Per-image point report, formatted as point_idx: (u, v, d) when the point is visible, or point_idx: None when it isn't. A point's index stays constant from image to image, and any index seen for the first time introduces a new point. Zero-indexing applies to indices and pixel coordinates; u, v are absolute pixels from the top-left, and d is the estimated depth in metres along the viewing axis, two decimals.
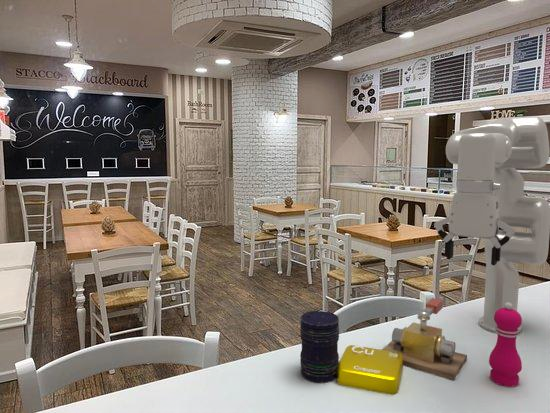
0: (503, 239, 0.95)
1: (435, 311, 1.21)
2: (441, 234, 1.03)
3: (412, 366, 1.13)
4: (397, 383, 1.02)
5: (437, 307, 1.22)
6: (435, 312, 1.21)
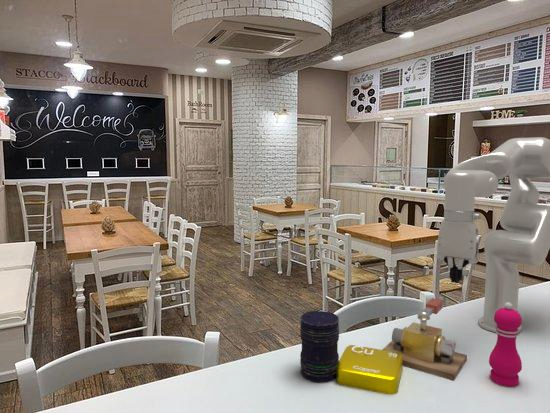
0: (464, 262, 1.18)
1: (435, 311, 1.21)
2: (446, 261, 1.20)
3: (412, 366, 1.13)
4: (396, 383, 1.02)
5: (437, 307, 1.22)
6: (435, 312, 1.21)
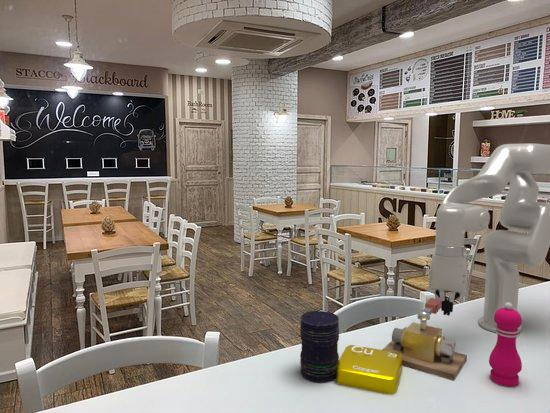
0: (455, 295, 1.20)
1: (434, 311, 1.21)
2: (438, 294, 1.23)
3: (412, 366, 1.13)
4: (396, 383, 1.02)
5: (436, 307, 1.22)
6: (434, 312, 1.21)
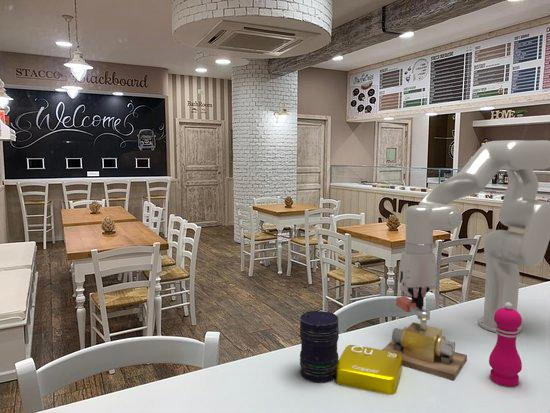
0: (426, 289, 1.26)
1: None
2: (411, 291, 1.25)
3: (412, 366, 1.13)
4: (395, 383, 1.02)
5: None
6: None
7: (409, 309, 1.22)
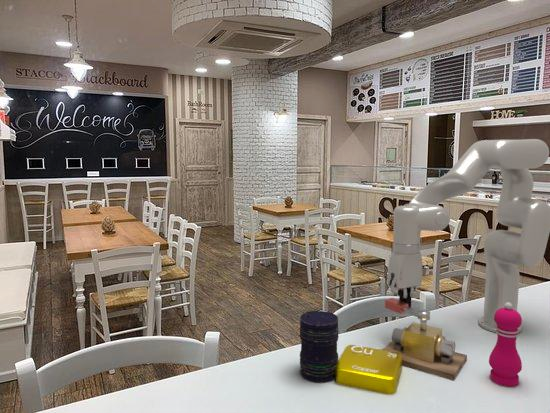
0: None
1: None
2: (401, 292, 1.24)
3: (412, 366, 1.13)
4: (395, 383, 1.02)
5: None
6: None
7: (404, 310, 1.21)
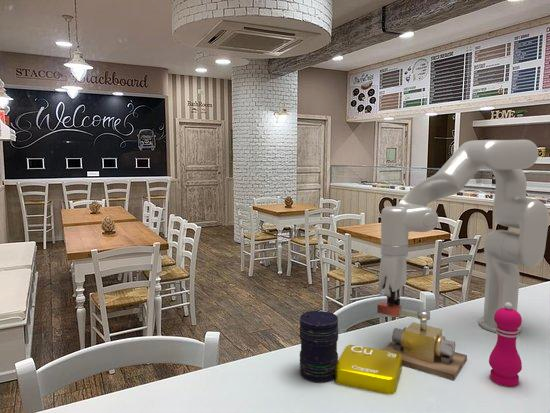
0: None
1: None
2: None
3: (412, 366, 1.13)
4: (395, 383, 1.02)
5: None
6: None
7: (401, 313, 1.19)
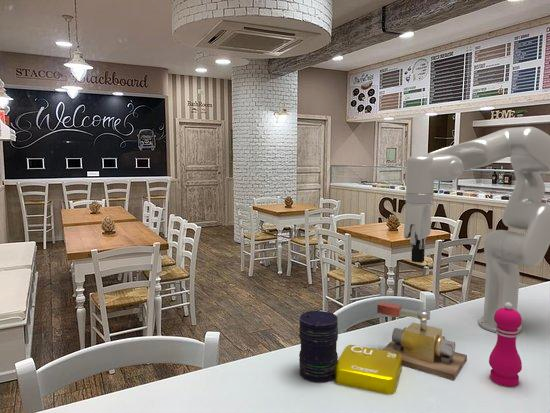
0: None
1: None
2: (418, 244, 1.22)
3: (412, 366, 1.13)
4: (394, 383, 1.02)
5: None
6: None
7: (401, 313, 1.19)
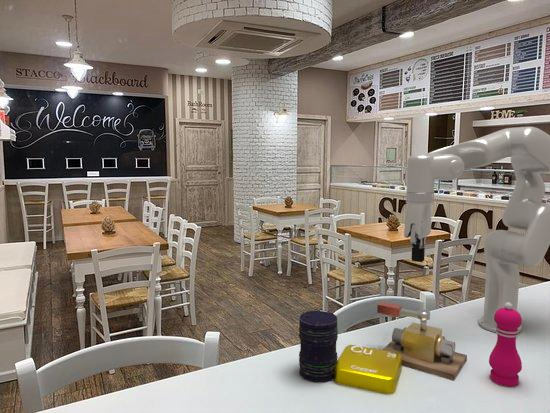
0: None
1: None
2: (418, 243, 1.22)
3: (412, 366, 1.13)
4: (394, 383, 1.02)
5: None
6: None
7: (401, 313, 1.19)
